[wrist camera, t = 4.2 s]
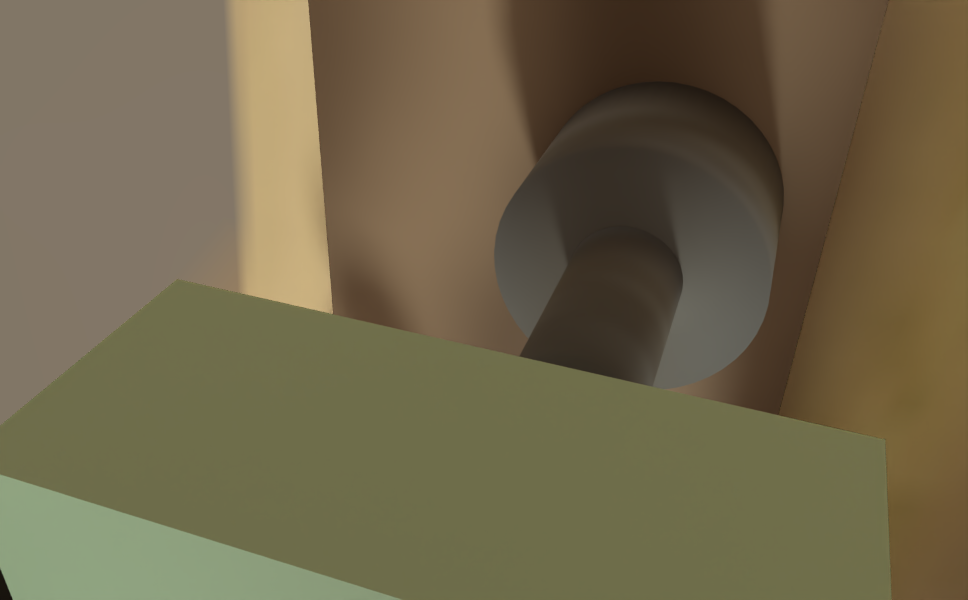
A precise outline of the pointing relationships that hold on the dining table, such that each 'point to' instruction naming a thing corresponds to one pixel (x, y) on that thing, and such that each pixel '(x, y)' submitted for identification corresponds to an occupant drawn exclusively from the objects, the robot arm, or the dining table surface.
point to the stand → (591, 176)
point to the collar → (412, 474)
